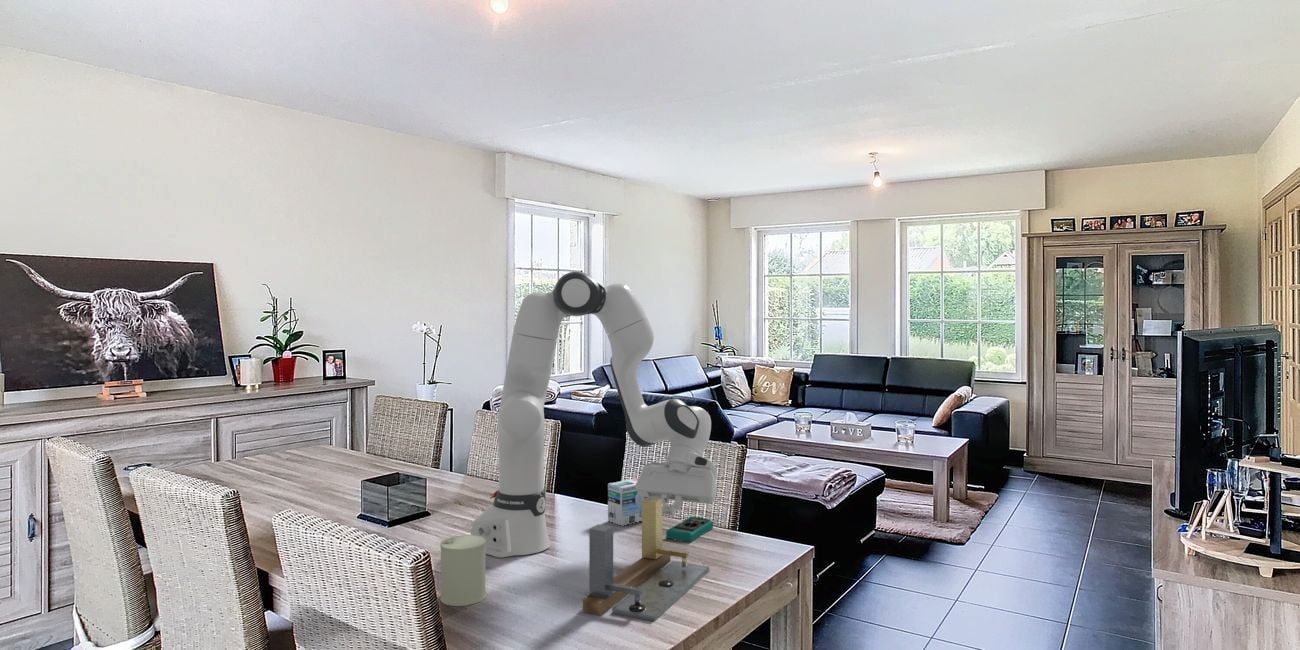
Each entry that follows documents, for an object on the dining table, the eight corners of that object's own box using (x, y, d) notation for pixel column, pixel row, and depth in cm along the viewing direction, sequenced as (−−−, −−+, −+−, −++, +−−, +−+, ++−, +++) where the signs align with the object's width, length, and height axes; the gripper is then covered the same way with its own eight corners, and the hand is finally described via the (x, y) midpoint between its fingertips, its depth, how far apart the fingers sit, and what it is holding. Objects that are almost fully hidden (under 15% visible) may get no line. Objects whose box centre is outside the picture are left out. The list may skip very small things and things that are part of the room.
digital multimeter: (714, 529, 200) (714, 518, 200) (690, 544, 187) (690, 533, 187) (690, 525, 203) (690, 515, 203) (665, 540, 190) (665, 528, 190)
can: (445, 589, 156) (444, 533, 155) (489, 588, 156) (489, 532, 156) (436, 607, 146) (435, 547, 146) (483, 605, 147) (482, 546, 147)
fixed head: (585, 600, 146) (585, 529, 145) (596, 592, 150) (596, 523, 149) (635, 610, 141) (635, 536, 141) (645, 601, 145) (645, 530, 145)
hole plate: (612, 613, 143) (612, 607, 143) (672, 564, 171) (672, 559, 171) (654, 621, 140) (654, 615, 140) (709, 570, 167) (709, 565, 167)
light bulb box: (621, 526, 201) (621, 487, 200) (606, 521, 206) (606, 483, 205) (651, 519, 208) (651, 481, 207) (635, 514, 213) (635, 477, 213)
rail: (582, 612, 144) (582, 599, 144) (655, 558, 175) (655, 548, 175) (600, 615, 142) (600, 602, 142) (670, 561, 173) (670, 550, 173)
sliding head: (641, 562, 168) (641, 500, 167) (648, 557, 171) (648, 497, 170) (684, 569, 163) (684, 505, 163) (690, 564, 166) (690, 502, 166)
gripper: (641, 454, 187) (624, 502, 178) (717, 461, 178) (703, 511, 170) (649, 468, 191) (632, 515, 182) (723, 475, 183) (710, 525, 174)
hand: (667, 513), depth 176 cm, fingers closed
